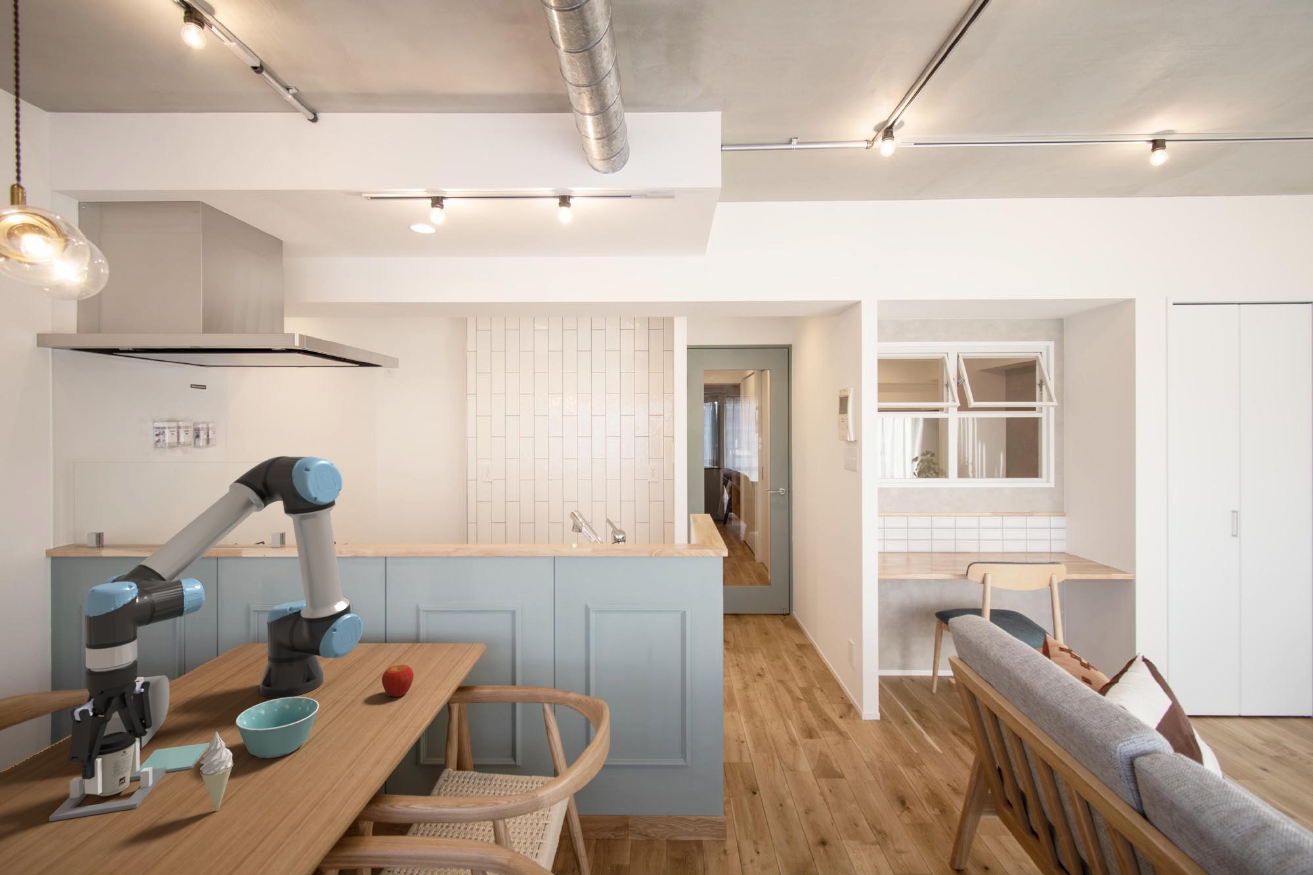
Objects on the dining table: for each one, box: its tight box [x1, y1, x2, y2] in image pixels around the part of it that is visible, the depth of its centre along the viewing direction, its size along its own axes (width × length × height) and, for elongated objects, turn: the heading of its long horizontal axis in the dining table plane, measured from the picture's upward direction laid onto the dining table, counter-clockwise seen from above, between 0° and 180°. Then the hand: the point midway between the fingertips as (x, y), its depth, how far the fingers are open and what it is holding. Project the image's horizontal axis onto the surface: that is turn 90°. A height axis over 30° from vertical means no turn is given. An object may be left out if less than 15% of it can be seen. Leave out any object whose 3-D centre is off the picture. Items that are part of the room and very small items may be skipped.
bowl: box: [235, 696, 320, 759], centre depth 137 cm, size 16×16×8 cm
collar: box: [48, 767, 167, 822], centre depth 119 cm, size 13×13×4 cm
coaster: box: [138, 742, 210, 773], centre depth 131 cm, size 10×10×1 cm
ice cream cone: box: [199, 730, 234, 812], centre depth 114 cm, size 5×5×15 cm
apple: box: [381, 664, 415, 698], centre depth 165 cm, size 8×8×8 cm
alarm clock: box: [91, 674, 170, 748], centre depth 138 cm, size 21×10×13 cm, turn 22°
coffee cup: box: [89, 732, 136, 797], centre depth 119 cm, size 7×7×10 cm
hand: (113, 780), depth 119 cm, fingers closed on coffee cup, 7 cm apart
